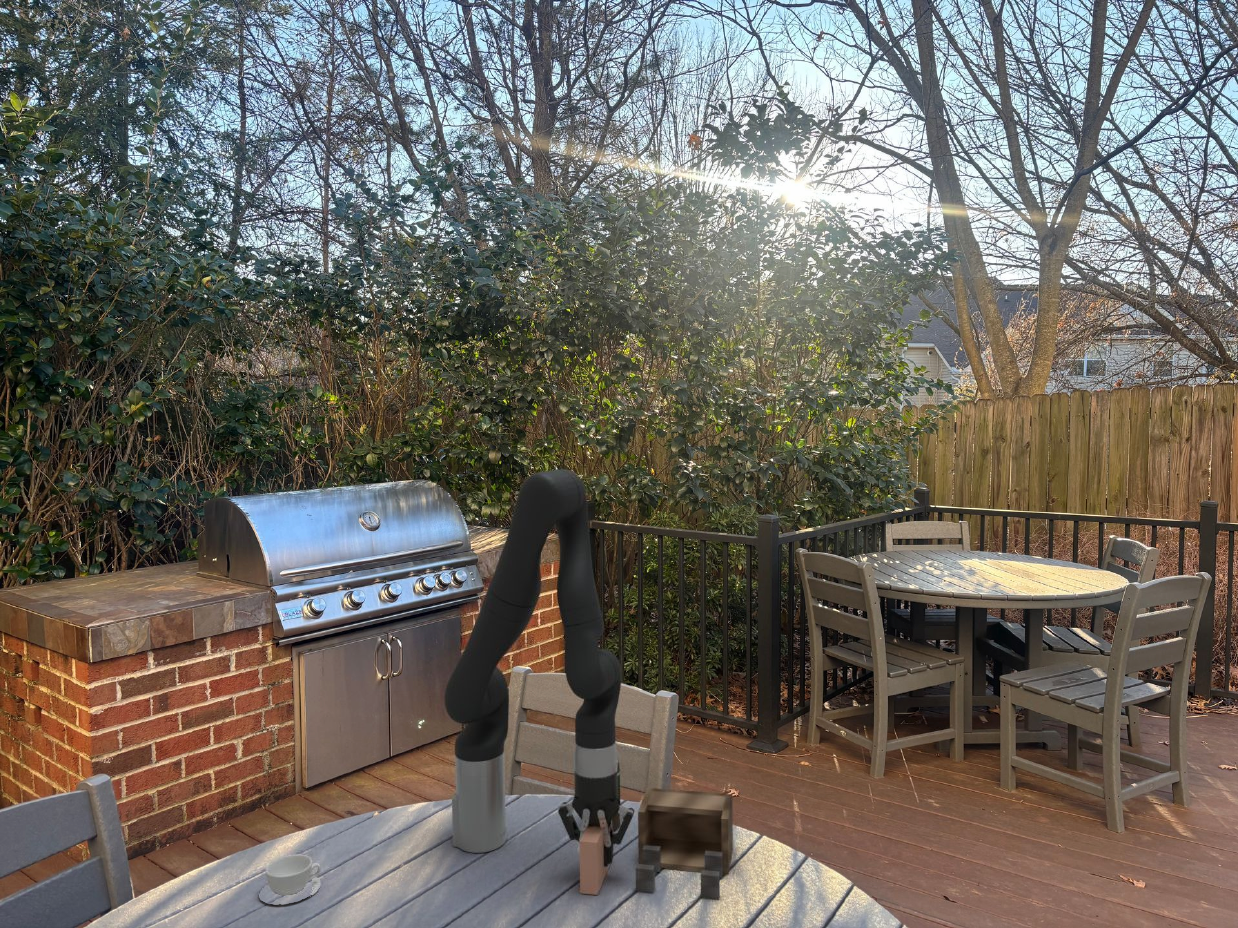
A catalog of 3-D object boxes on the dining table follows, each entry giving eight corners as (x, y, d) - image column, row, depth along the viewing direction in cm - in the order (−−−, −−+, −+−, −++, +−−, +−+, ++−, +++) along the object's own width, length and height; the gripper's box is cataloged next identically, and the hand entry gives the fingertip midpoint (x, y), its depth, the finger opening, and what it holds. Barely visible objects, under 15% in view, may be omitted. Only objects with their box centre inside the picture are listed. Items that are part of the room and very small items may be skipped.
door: (591, 856, 155) (590, 808, 154) (612, 858, 154) (612, 809, 154) (574, 892, 143) (573, 840, 143) (597, 894, 142) (596, 842, 142)
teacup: (259, 914, 139) (258, 886, 138) (257, 884, 148) (256, 858, 147) (324, 898, 143) (323, 871, 143) (317, 870, 152) (317, 845, 152)
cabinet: (630, 890, 144) (629, 832, 143) (648, 838, 161) (647, 787, 161) (724, 900, 140) (724, 841, 140) (732, 846, 158) (732, 794, 158)
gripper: (550, 772, 145) (552, 870, 146) (631, 778, 142) (632, 878, 143) (562, 755, 153) (563, 849, 154) (639, 761, 150) (640, 856, 151)
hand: (597, 862), depth 148 cm, fingers closed on door, 3 cm apart
